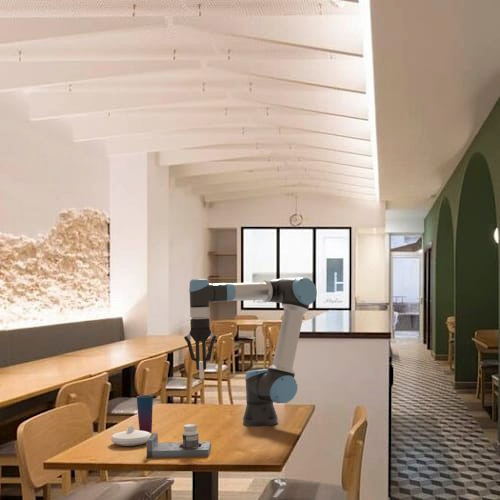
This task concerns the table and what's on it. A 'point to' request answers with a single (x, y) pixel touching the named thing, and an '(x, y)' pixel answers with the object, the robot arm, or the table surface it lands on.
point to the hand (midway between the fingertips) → (201, 378)
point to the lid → (130, 437)
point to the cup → (145, 412)
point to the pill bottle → (190, 436)
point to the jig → (175, 449)
